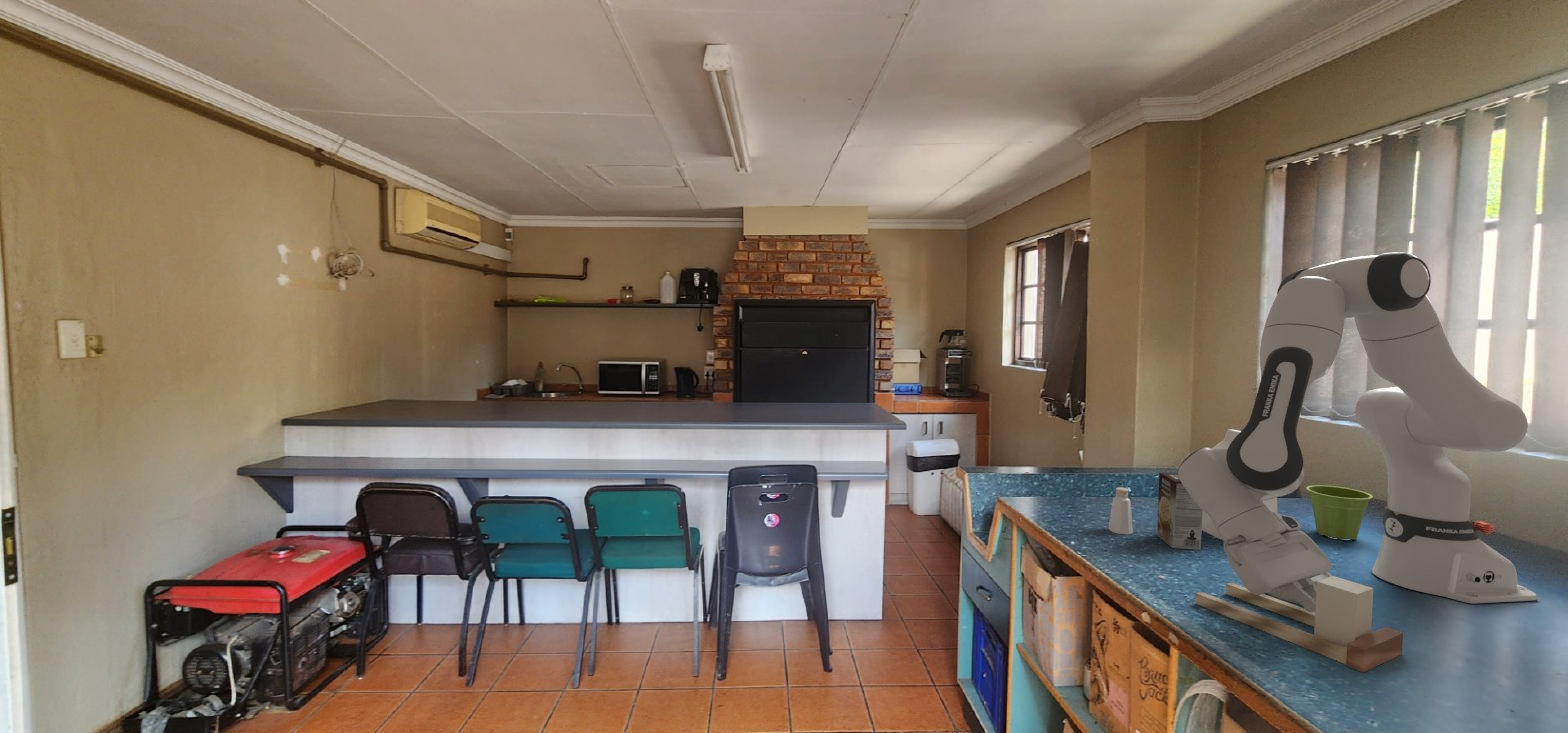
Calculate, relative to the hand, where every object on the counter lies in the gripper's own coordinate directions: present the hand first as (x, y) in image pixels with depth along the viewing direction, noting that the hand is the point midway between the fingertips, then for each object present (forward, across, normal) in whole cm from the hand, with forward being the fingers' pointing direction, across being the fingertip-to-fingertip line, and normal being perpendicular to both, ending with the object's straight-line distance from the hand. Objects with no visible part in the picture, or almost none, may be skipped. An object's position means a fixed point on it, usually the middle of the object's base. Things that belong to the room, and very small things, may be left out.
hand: (1318, 609), depth 96 cm
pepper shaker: (-30, +18, +38) cm, 52 cm away
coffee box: (-22, +24, +30) cm, 44 cm away
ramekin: (-4, +15, +11) cm, 19 cm away
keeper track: (+1, 0, +6) cm, 6 cm away
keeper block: (+6, 0, +1) cm, 6 cm away
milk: (-21, +42, +28) cm, 55 cm away
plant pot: (-13, +63, +20) cm, 68 cm away
